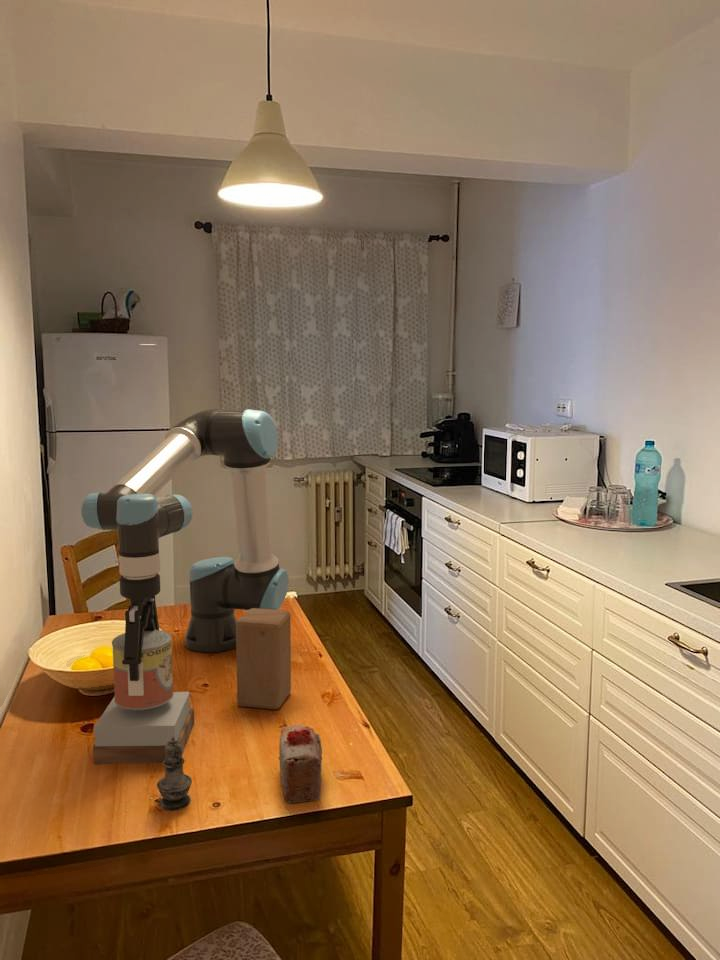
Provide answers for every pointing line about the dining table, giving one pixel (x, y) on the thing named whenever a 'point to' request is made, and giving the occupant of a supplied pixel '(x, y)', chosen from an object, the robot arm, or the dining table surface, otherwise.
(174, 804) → the dark chess piece
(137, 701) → the canned food
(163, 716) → the grey block
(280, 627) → the wooden block
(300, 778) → the food item
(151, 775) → the dining table surface
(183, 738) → the walnut block
